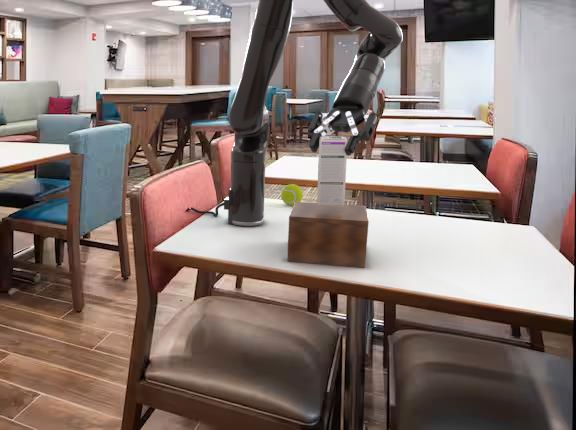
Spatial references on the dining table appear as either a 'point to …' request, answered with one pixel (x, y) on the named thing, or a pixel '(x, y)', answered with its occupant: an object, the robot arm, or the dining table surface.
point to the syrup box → (331, 171)
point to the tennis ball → (291, 194)
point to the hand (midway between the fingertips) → (329, 151)
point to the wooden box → (328, 234)
